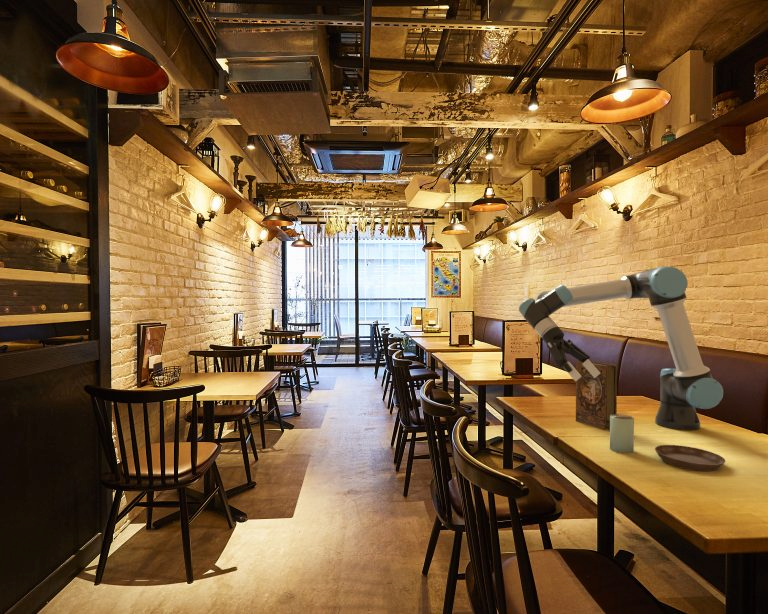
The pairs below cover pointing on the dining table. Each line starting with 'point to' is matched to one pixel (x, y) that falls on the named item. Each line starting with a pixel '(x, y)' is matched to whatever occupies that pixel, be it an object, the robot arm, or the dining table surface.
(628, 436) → the pale green cup
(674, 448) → the plant saucer
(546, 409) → the dining table surface
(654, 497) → the dining table surface
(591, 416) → the book
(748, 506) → the dining table surface
